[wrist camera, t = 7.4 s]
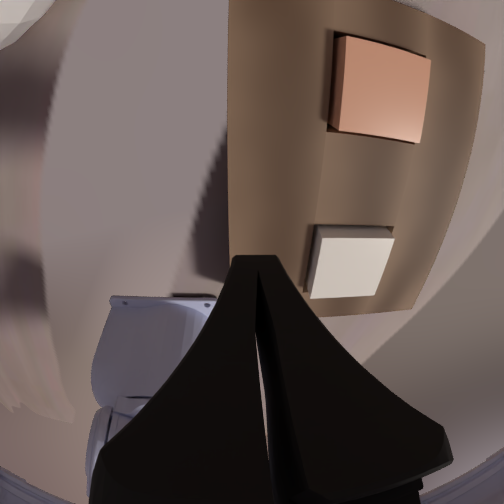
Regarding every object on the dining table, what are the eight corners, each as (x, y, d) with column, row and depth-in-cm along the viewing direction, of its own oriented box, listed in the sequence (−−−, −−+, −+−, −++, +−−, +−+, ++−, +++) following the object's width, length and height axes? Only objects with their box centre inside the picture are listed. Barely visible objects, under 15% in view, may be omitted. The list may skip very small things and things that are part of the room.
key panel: (232, 286, 22) (231, 320, 19) (231, -7, 10) (229, -25, 8) (396, 281, 23) (411, 309, 20) (451, 41, 11) (485, 44, 8)
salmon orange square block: (319, 117, 14) (338, 130, 11) (325, 41, 11) (346, 35, 9) (390, 127, 14) (419, 143, 11) (398, 57, 11) (431, 60, 9)
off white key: (301, 265, 20) (310, 298, 17) (309, 208, 17) (322, 237, 15) (359, 264, 20) (374, 295, 17) (374, 211, 17) (394, 238, 15)
